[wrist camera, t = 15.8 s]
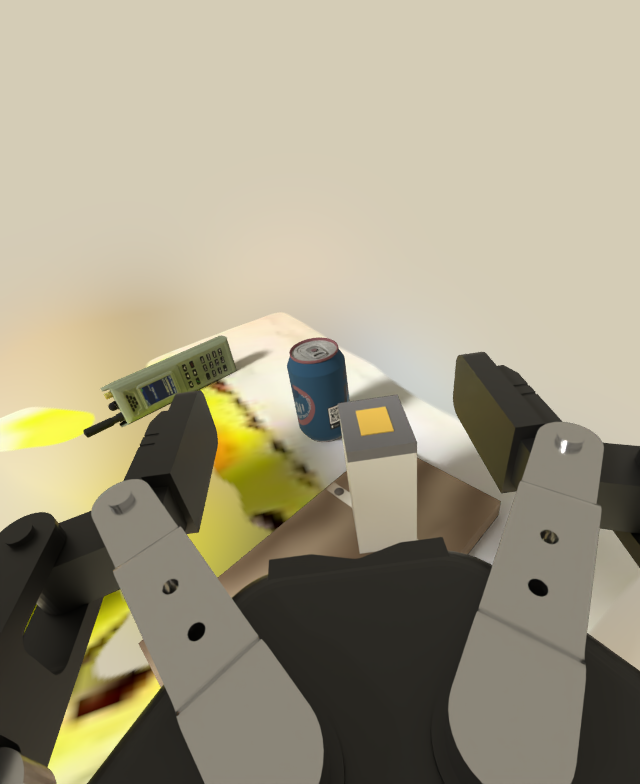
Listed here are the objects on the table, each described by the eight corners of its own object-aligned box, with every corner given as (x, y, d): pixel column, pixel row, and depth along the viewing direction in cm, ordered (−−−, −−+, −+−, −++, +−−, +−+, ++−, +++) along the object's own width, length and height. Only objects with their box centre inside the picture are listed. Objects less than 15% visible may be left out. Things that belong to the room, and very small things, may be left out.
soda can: (292, 425, 54) (274, 348, 48) (334, 406, 57) (323, 329, 50) (316, 453, 49) (301, 370, 42) (362, 430, 51) (354, 348, 45)
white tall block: (359, 553, 35) (346, 451, 28) (350, 500, 40) (337, 402, 33) (416, 545, 34) (417, 440, 28) (400, 493, 39) (397, 393, 33)
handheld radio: (239, 372, 69) (91, 446, 57) (230, 367, 71) (86, 437, 59) (228, 337, 66) (68, 408, 53) (219, 333, 68) (64, 400, 56)
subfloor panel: (148, 654, 32) (137, 642, 31) (384, 452, 47) (383, 439, 46) (244, 840, 23) (234, 833, 22) (498, 515, 38) (500, 500, 37)
